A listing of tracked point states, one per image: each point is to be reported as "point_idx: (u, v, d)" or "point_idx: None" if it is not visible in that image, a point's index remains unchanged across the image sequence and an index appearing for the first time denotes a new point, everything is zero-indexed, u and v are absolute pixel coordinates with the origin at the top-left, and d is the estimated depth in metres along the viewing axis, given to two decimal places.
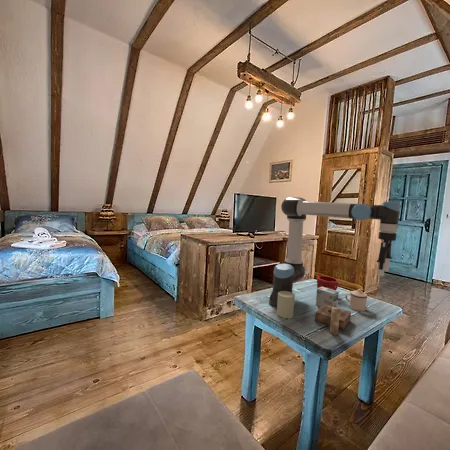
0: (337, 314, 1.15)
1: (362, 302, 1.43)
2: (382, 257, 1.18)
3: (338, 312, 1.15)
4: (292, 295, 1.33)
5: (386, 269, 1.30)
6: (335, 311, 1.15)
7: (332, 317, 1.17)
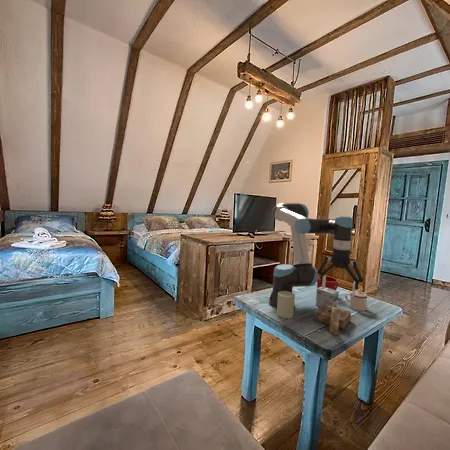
0: (337, 314, 1.15)
1: (362, 302, 1.43)
2: (319, 269, 1.23)
3: (338, 312, 1.15)
4: (292, 295, 1.33)
5: None
6: (335, 311, 1.15)
7: (332, 317, 1.17)
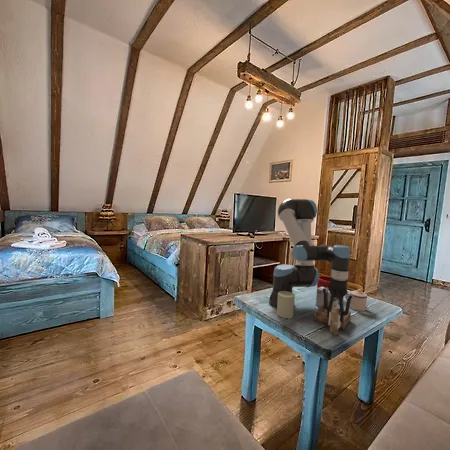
0: (337, 314, 1.15)
1: (362, 302, 1.43)
2: None
3: (338, 312, 1.15)
4: (292, 295, 1.33)
5: None
6: (335, 310, 1.15)
7: (332, 317, 1.17)
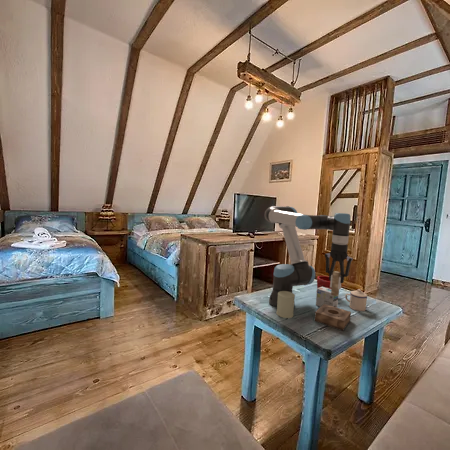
0: (338, 277, 1.25)
1: (362, 302, 1.43)
2: None
3: (339, 275, 1.25)
4: (292, 295, 1.33)
5: None
6: (336, 274, 1.25)
7: (333, 280, 1.27)
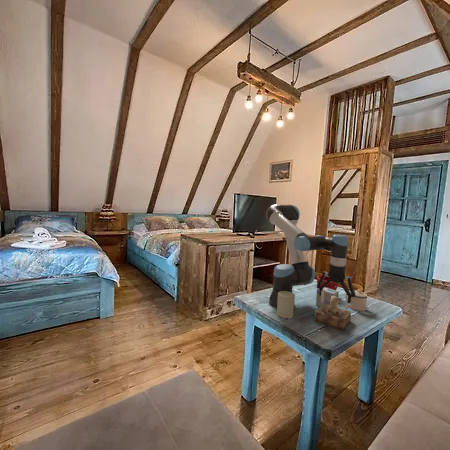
0: (336, 302, 1.27)
1: (362, 302, 1.43)
2: (318, 283, 1.33)
3: (337, 300, 1.27)
4: (292, 295, 1.33)
5: None
6: (334, 299, 1.27)
7: (331, 305, 1.28)
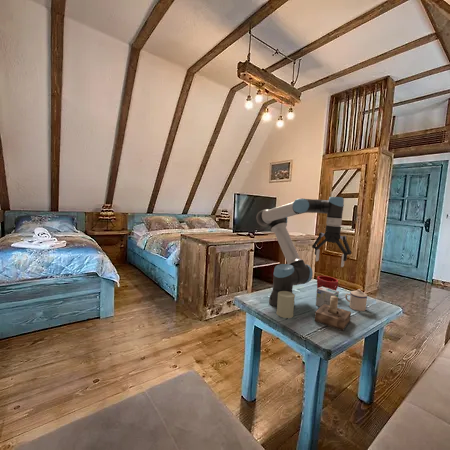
0: (335, 302, 1.27)
1: (362, 302, 1.43)
2: None
3: (336, 300, 1.27)
4: (292, 295, 1.33)
5: None
6: (333, 299, 1.27)
7: (331, 305, 1.28)
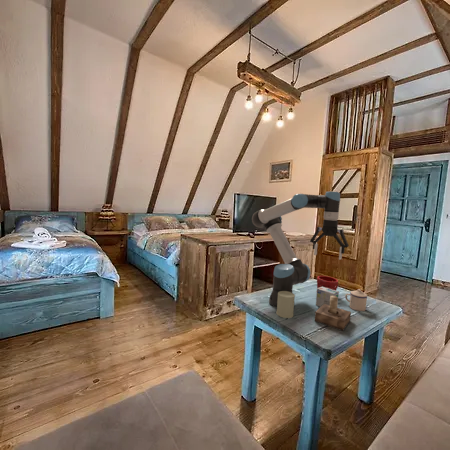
0: (335, 302, 1.27)
1: (362, 302, 1.43)
2: None
3: (336, 300, 1.27)
4: (292, 295, 1.33)
5: None
6: (333, 299, 1.27)
7: (330, 305, 1.28)
